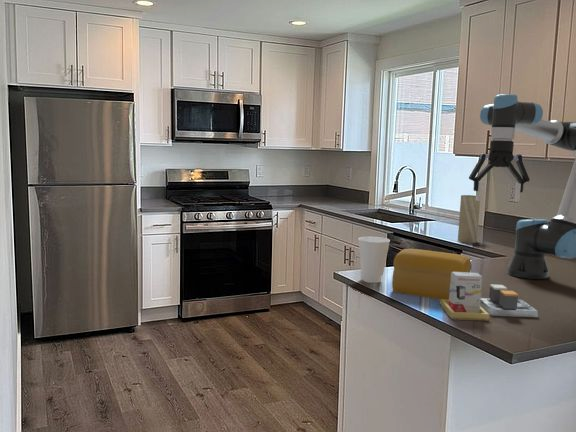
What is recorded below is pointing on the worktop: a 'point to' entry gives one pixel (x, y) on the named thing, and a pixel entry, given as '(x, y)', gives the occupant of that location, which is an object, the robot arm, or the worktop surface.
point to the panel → (497, 310)
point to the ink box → (465, 292)
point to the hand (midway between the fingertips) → (497, 201)
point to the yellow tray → (464, 313)
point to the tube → (468, 219)
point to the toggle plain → (496, 292)
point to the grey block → (508, 299)
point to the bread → (426, 272)
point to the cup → (373, 257)
